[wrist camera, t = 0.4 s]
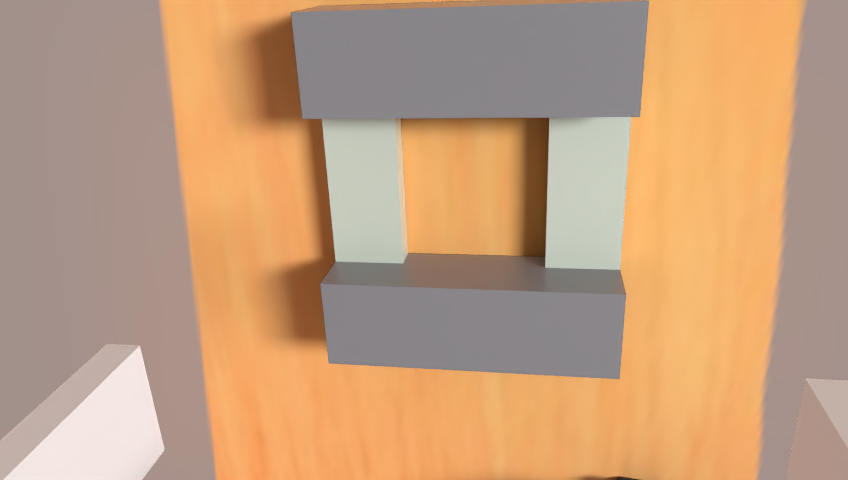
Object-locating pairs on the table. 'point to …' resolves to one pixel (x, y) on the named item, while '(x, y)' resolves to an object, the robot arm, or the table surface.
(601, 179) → the frame
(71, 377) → the robot arm
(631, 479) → the black ribbed column
